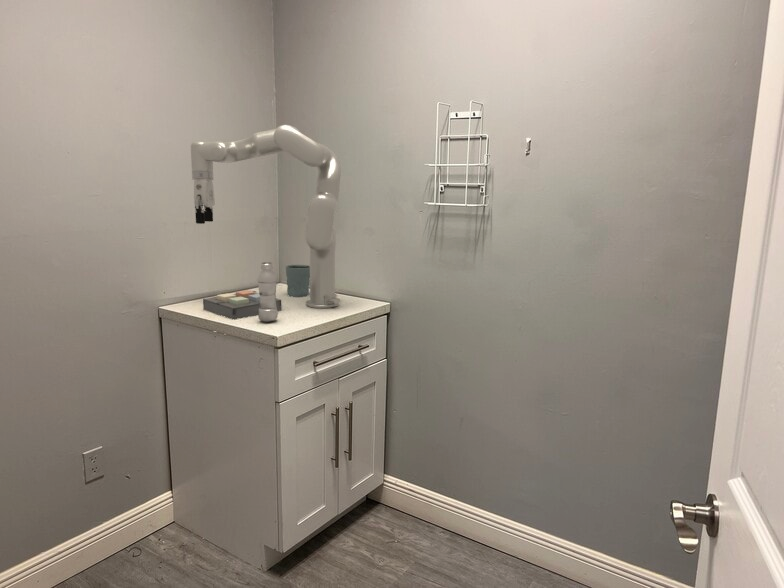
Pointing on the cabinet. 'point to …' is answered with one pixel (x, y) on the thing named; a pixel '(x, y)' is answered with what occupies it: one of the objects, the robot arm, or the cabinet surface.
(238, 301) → the sage key
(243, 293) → the terracotta key
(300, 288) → the teal cup
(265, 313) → the plastic bottle
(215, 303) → the keypad
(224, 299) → the sand key
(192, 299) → the cabinet surface
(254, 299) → the slate key
